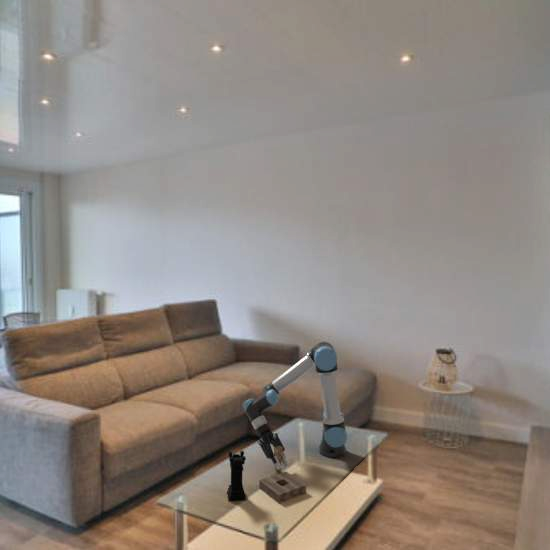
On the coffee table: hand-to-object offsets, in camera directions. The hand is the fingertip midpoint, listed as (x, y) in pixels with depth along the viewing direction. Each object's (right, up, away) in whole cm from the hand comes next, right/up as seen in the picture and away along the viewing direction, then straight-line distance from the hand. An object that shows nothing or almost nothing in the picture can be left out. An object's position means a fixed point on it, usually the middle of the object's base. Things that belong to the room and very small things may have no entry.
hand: (283, 467), depth 244 cm
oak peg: (-3, -4, +3) cm, 6 cm away
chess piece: (-22, -5, -21) cm, 31 cm away
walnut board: (-1, -5, -15) cm, 16 cm away
